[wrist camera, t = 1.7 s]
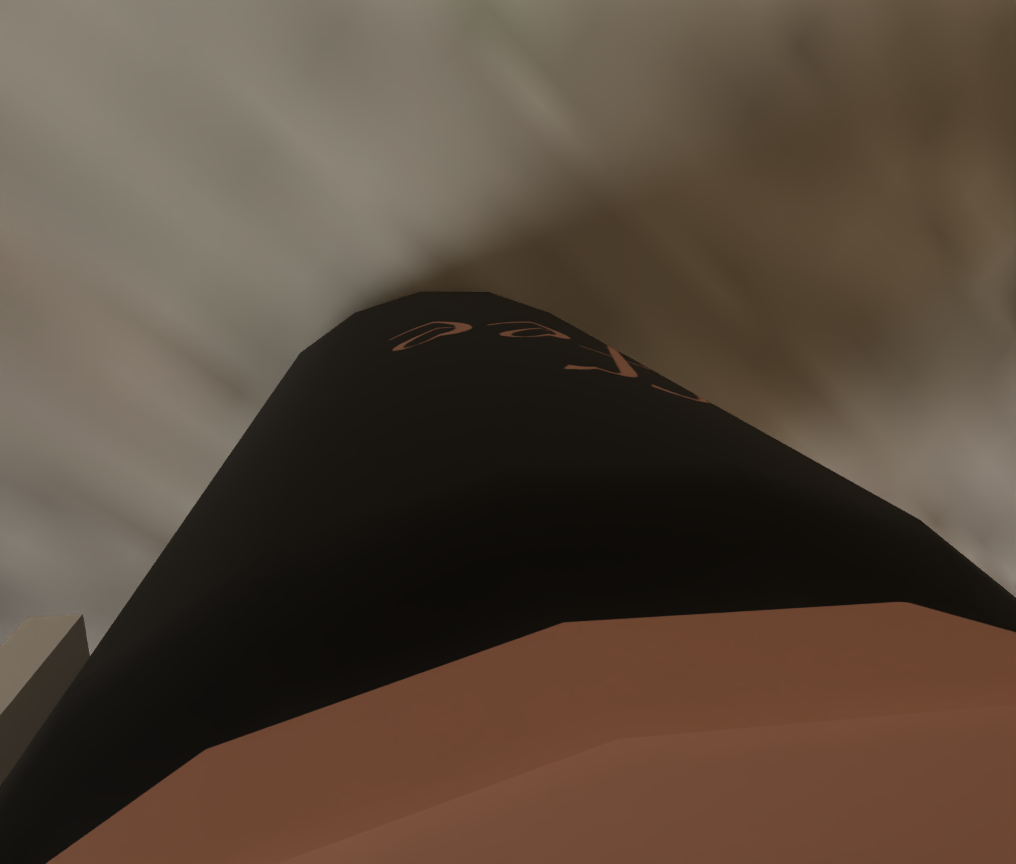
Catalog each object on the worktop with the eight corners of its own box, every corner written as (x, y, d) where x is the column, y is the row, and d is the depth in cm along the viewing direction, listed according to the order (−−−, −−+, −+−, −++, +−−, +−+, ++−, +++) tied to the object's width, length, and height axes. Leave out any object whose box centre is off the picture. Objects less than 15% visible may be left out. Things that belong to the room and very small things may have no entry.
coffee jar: (704, 469, 22) (1761, 1295, 5) (450, 709, 23) (627, 2104, 6) (450, 197, 19) (973, -30, 2) (167, 486, 20) (-1170, 2072, 3)
